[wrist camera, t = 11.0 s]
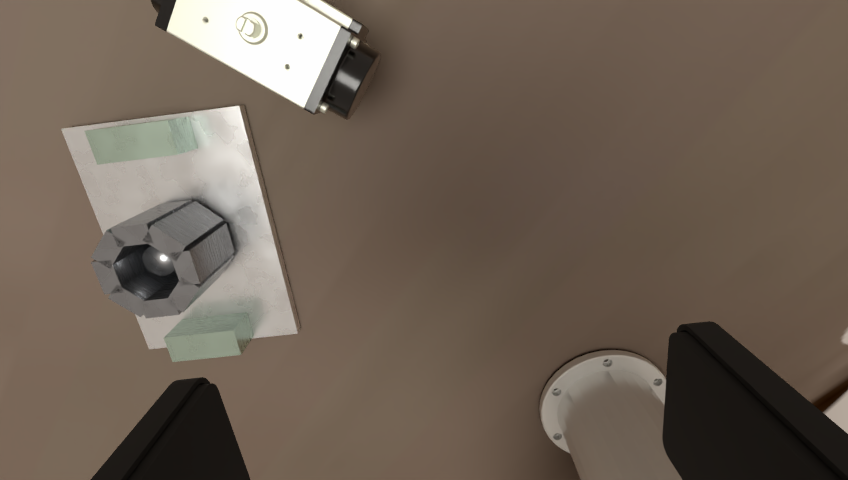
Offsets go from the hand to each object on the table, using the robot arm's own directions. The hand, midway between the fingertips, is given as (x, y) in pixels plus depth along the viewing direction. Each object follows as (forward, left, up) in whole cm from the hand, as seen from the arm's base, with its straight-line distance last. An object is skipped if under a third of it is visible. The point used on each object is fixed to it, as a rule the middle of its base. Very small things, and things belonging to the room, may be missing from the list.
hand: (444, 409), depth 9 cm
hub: (-4, +20, -27) cm, 34 cm away
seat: (-4, +21, -28) cm, 35 cm away
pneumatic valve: (+10, +8, -28) cm, 31 cm away
